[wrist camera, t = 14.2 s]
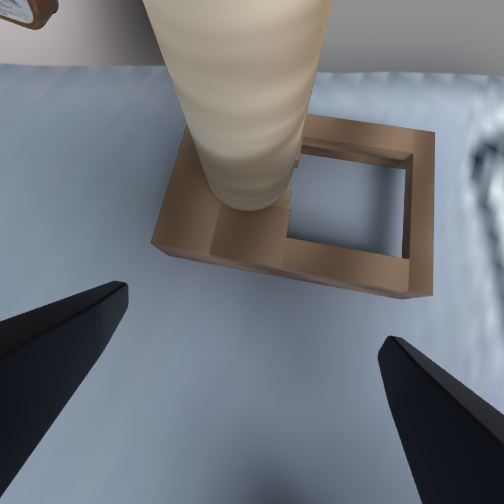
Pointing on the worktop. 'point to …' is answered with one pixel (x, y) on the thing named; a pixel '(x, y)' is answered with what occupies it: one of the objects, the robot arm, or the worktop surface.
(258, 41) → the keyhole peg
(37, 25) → the tin
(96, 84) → the worktop surface
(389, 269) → the brown rectangular frame
